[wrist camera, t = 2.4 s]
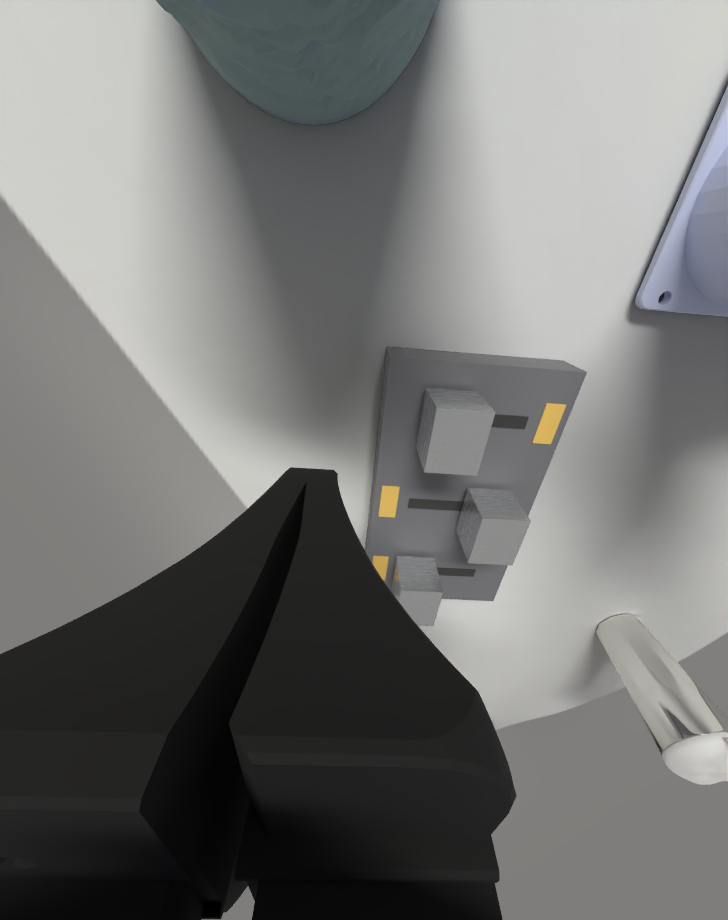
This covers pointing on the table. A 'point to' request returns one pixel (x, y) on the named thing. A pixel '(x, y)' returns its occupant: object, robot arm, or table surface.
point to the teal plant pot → (306, 50)
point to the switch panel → (442, 495)
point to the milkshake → (668, 702)
